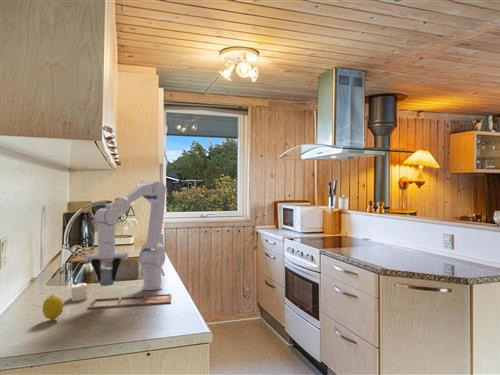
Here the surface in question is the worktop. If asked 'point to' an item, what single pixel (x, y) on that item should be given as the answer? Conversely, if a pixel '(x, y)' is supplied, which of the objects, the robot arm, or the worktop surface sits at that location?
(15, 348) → the worktop surface
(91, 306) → the board
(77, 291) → the die
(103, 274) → the grey rounded cylinder
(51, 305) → the lemon
